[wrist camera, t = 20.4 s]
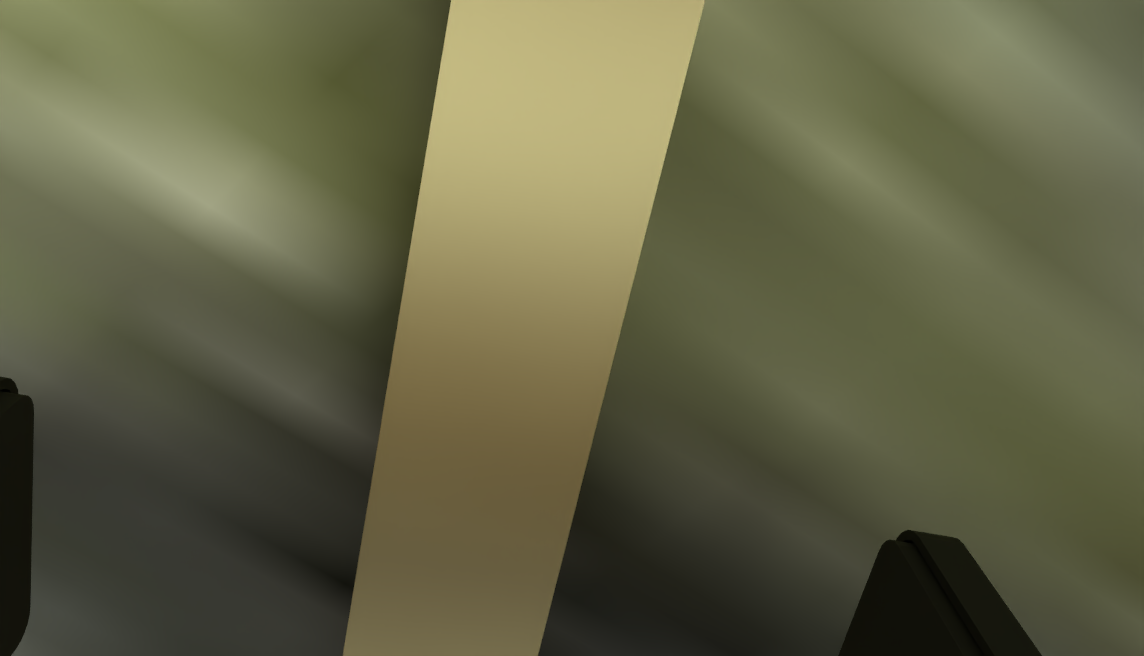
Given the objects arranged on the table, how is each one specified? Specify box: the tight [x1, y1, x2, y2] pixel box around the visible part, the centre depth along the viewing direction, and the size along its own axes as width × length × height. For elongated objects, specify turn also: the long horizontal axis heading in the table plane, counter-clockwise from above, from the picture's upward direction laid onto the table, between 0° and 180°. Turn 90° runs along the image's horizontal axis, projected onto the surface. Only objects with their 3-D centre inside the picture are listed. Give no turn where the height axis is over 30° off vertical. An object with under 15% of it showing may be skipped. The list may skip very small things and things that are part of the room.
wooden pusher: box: [343, 0, 705, 656], centre depth 11 cm, size 31×9×4 cm, turn 168°
